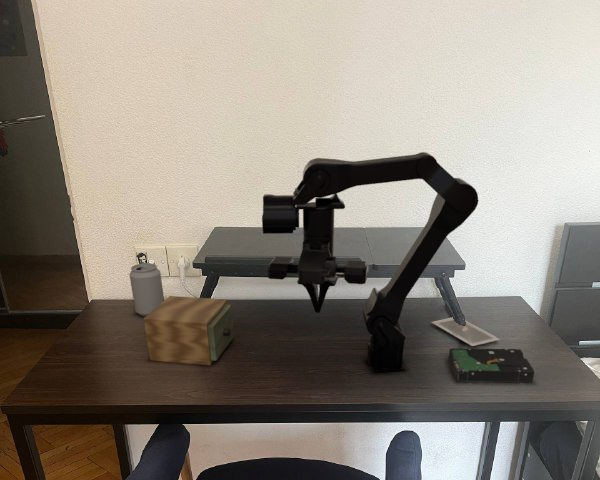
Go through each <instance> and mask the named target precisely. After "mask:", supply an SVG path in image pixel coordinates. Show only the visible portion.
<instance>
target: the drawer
mask: <svg viewBox="0 0 600 480" xmlns="http://www.w3.org/2000/svg"><path fill="white" fill-rule="evenodd" d="M208 334H209V344H210V354H211V360H213V362H215V361H218V359H219V358H220V357H221V355H222V354H223V352H224V351H225V350H226V348H227V347H228V346H229V345H230V343H231V342H232V340H233V339H234V337H235V333H234V320H233V308H232V304H227V305H226V306H225V307H224V308H223V309H222V310H221V311H220V312H219V313H218V314H217V315H216V316H215V317H214V319H213V320H212V321H211V322H210V323H209V324H208Z"/></svg>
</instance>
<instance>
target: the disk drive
mask: <svg viewBox="0 0 600 480" xmlns="http://www.w3.org/2000/svg"><path fill="white" fill-rule="evenodd" d="M448 361H449V364H450V367H451V368H452V371H453V374H454V376H455V379H456V381H459V382H475V383H476V382H481V383H482V382H483V383H485V382H486V383H487V382H488V383H490V382H491V383H492V382H493V383H529V382H531V383H533V381H534V376H535V370H534V368H533V367H532V366H531V363H530V362H529V361H528V359H527V358H525V356H524V353H523V350H522V349H519V348H518V349H517V348H507V349H506V348H465V347H464V348H463V347H462V348H449V351H448Z"/></svg>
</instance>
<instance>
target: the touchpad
mask: <svg viewBox="0 0 600 480" xmlns="http://www.w3.org/2000/svg"><path fill="white" fill-rule="evenodd" d="M453 317H454V316H452V317H448V318H443V319H438V320H434V321H433V320H432V321H431V322H430V323H431V324H433V325H435V326H436V327H438V328H439V329H441V330H443V331H445V332H447V333H449V334H450V335H452V336H453V337H455V338H458V339H459V340H460V341H462V342H464V343H466V344H468V345H469V346H471V347H474V346H475V347H476V346H480V345H483V344H484V345H485V344H488V343H492V342H497V341H500V340H501V338H499V337H498V336H495V335H493V334H491V333H490V332H488V331H486V330H484V329H482V328H481V327H478V326H477V325H474V324H473V323H471V322H469V321H467V320H465V322H466V325H465V326H462V325H459V324H458V323H456V322H455V321H454V319H453Z"/></svg>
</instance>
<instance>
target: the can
mask: <svg viewBox="0 0 600 480" xmlns="http://www.w3.org/2000/svg"><path fill="white" fill-rule="evenodd" d="M130 270H131V271H130V272H129V273H128V274H129V281H130V287H131V292H132V299H133V305H134V311H135V313H137V314H138V315H140V316H142V317H146V316H147V315H148V314H150V313H151V312H152V311H153V310H154V309H155V308H156V307H157V306H159V305H160V304H161V303H162V302H163V301H164V300H165V297H164V290H163V289H164V288H163V282H162V281H163V280H162V274H161V273H162V272H161V270H160V269H158V265H157V264H156V263H152V262H151V263H150V262H144V263H137V264H134V265H132V266H131V267H130Z"/></svg>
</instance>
